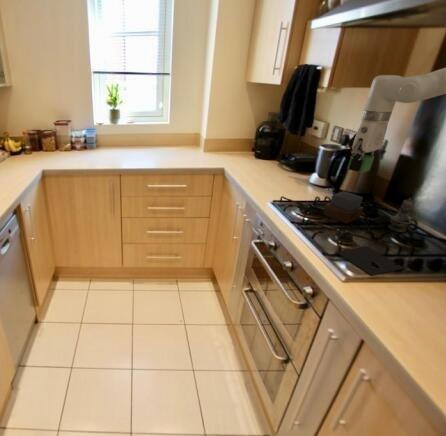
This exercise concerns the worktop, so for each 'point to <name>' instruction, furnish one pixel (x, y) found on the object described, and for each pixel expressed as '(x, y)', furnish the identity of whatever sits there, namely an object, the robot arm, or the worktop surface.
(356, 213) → the base block
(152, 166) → the worktop surface
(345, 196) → the middle block
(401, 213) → the salt shaker
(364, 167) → the green cube
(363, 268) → the mat
